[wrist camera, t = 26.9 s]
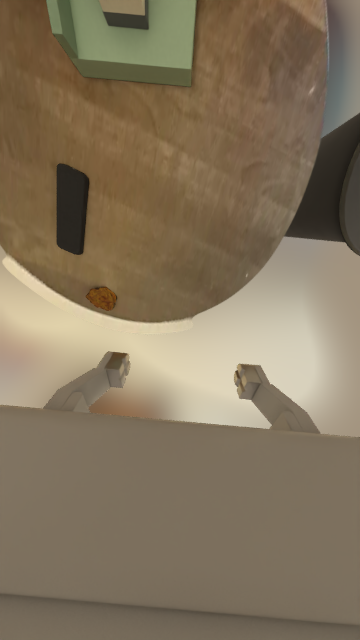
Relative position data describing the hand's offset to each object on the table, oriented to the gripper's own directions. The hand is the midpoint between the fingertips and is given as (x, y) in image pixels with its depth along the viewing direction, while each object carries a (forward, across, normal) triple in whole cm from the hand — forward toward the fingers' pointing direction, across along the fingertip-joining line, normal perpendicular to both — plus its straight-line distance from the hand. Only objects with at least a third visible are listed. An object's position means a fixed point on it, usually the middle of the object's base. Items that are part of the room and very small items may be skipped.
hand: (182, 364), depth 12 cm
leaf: (+29, +21, +9) cm, 37 cm away
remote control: (+29, +24, -9) cm, 39 cm away
